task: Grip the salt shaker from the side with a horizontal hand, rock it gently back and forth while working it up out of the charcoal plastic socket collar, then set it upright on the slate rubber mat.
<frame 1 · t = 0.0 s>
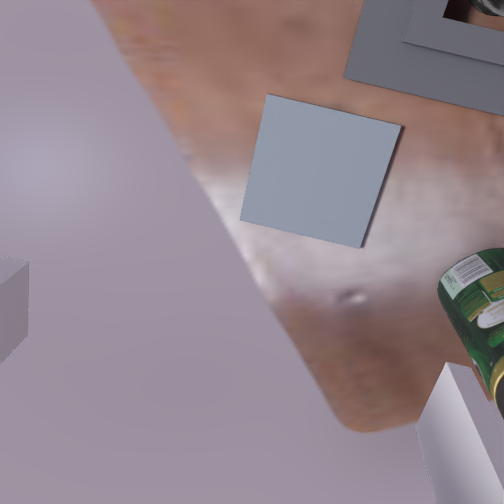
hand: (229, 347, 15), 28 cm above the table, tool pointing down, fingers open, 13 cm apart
coffee jar: (486, 292, 44), on the table
slate mat: (315, 174, 41), on the table
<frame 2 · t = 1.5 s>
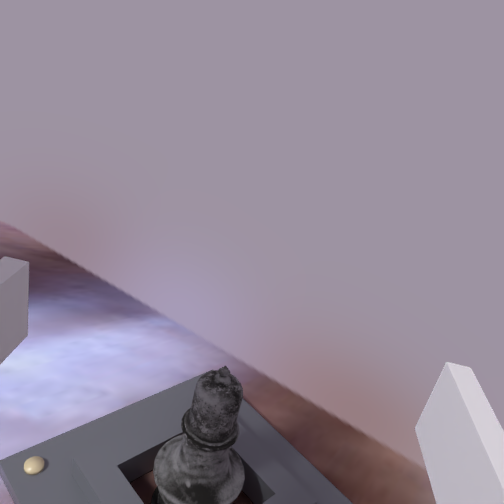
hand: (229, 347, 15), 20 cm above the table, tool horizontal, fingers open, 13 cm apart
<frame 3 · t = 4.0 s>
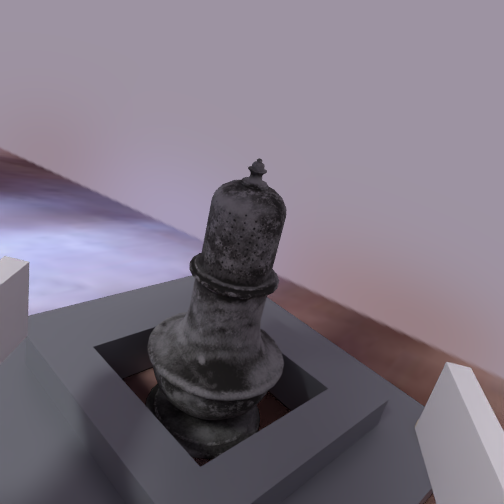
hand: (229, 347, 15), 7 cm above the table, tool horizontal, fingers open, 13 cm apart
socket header: (203, 411, 22), on the table
salt shaker: (202, 414, 22), resting in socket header
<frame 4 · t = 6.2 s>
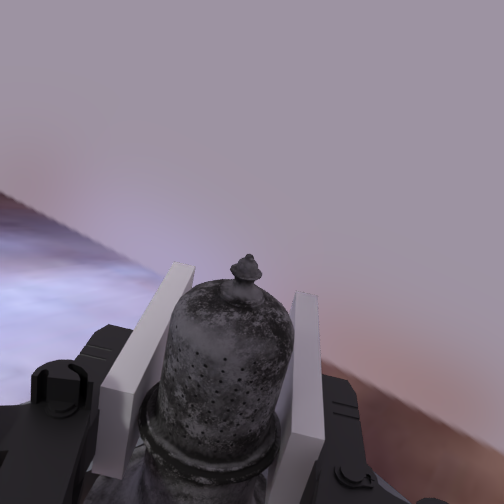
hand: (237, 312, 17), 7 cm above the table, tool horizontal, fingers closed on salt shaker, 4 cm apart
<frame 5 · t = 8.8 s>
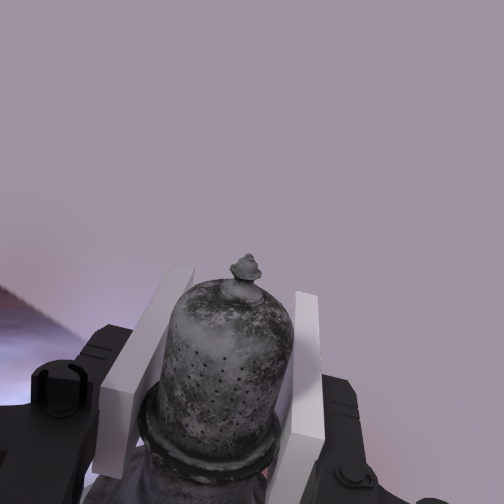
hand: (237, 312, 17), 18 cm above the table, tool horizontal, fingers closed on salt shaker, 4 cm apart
when the fingers open (9 cm above the table, at t = 11.6 s): salt shaker drops 1 cm, resting on slate mat.
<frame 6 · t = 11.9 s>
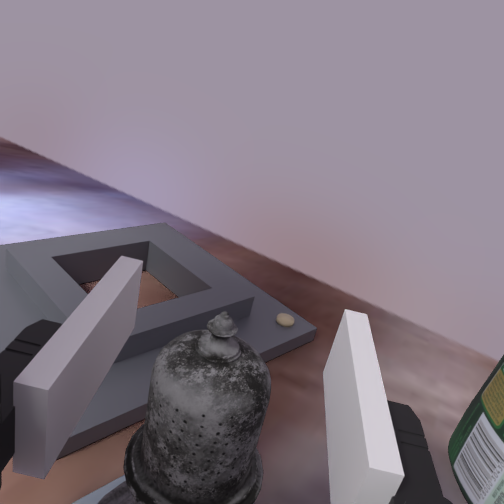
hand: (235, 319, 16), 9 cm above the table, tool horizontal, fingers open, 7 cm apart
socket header: (128, 305, 32), on the table
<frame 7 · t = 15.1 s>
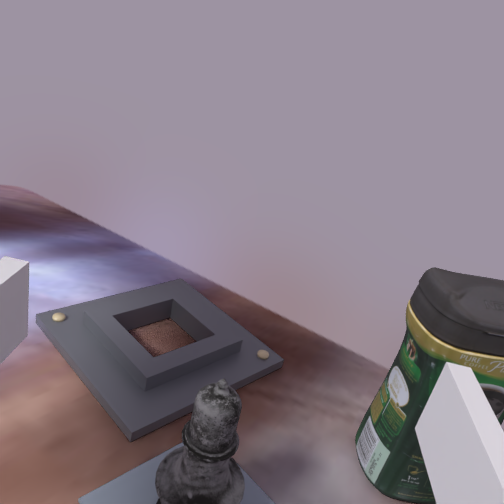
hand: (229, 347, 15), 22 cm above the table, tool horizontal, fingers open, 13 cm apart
coffee jar: (405, 469, 41), on the table
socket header: (161, 345, 49), on the table
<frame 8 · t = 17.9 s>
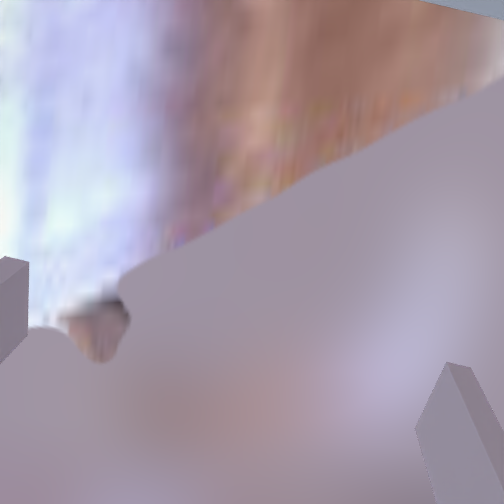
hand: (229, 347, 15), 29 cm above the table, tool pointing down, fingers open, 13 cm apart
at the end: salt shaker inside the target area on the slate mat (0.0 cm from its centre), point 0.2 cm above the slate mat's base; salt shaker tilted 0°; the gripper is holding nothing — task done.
